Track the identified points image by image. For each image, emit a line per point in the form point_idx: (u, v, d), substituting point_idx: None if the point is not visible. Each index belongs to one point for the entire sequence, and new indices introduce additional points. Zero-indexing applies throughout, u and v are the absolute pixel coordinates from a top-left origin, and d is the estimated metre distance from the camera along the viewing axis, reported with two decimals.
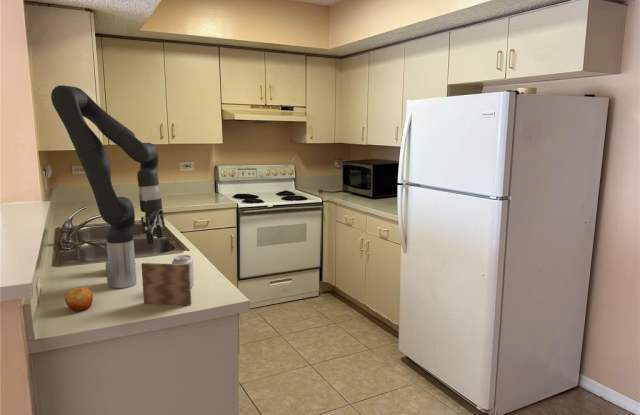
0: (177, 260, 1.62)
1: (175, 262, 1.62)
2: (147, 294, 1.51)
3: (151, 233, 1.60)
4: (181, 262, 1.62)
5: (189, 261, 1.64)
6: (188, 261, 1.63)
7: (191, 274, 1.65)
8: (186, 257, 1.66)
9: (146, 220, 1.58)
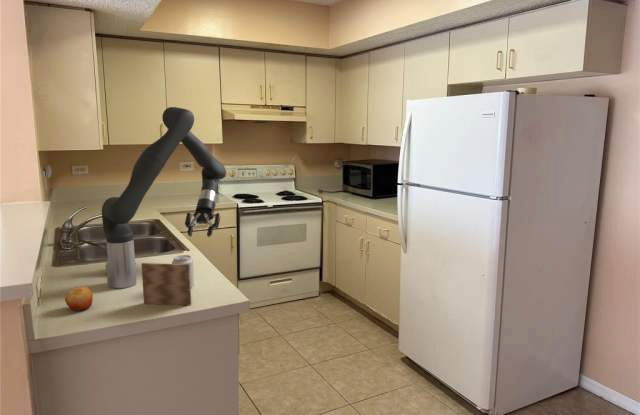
0: (177, 260, 1.62)
1: (175, 262, 1.62)
2: (147, 294, 1.51)
3: None
4: (181, 262, 1.62)
5: (189, 261, 1.64)
6: (188, 261, 1.63)
7: (191, 274, 1.65)
8: (186, 257, 1.66)
9: (219, 218, 1.88)
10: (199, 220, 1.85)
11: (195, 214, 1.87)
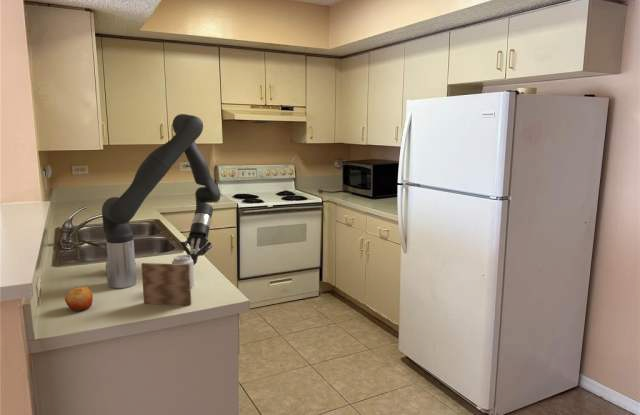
0: (177, 260, 1.62)
1: (175, 262, 1.62)
2: (147, 294, 1.51)
3: None
4: (181, 262, 1.62)
5: (189, 261, 1.64)
6: (188, 261, 1.63)
7: (191, 274, 1.65)
8: (186, 257, 1.66)
9: (210, 247, 1.80)
10: None
11: (189, 239, 1.81)
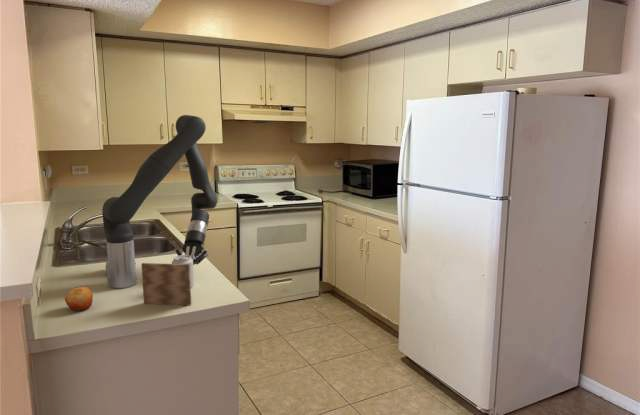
0: (177, 260, 1.62)
1: (175, 262, 1.62)
2: (147, 294, 1.51)
3: None
4: (181, 262, 1.62)
5: (189, 261, 1.63)
6: (188, 261, 1.63)
7: (191, 274, 1.65)
8: (186, 257, 1.66)
9: (206, 256, 1.75)
10: None
11: (184, 247, 1.76)
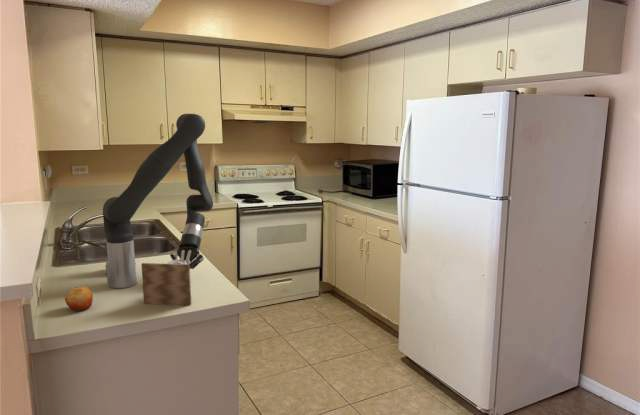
0: None
1: None
2: (147, 294, 1.51)
3: None
4: None
5: None
6: None
7: None
8: (181, 262, 1.61)
9: (201, 260, 1.69)
10: None
11: (179, 251, 1.70)
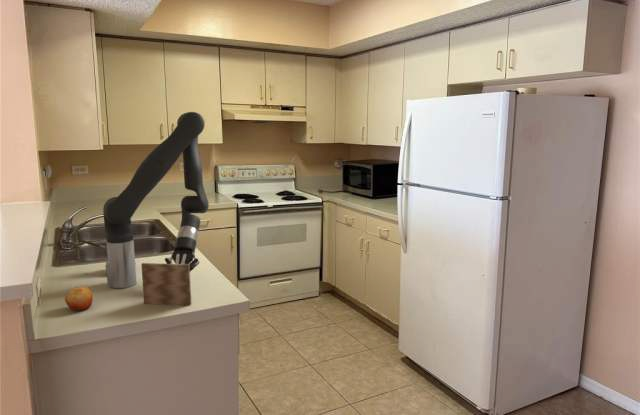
0: None
1: None
2: (147, 294, 1.51)
3: None
4: None
5: None
6: None
7: None
8: None
9: (197, 264, 1.64)
10: None
11: (174, 255, 1.65)
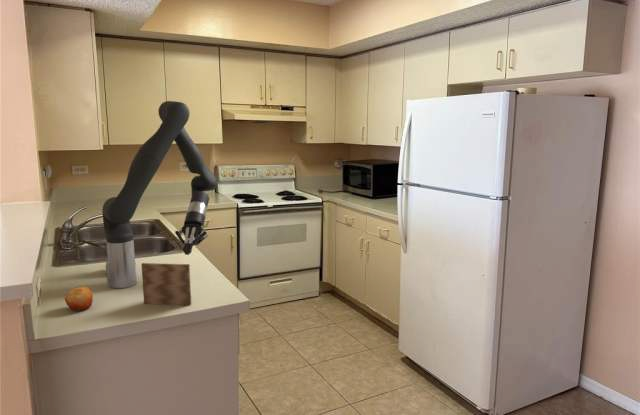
0: None
1: None
2: (147, 294, 1.51)
3: (191, 246, 1.72)
4: None
5: None
6: None
7: None
8: None
9: (205, 237, 1.74)
10: None
11: (184, 228, 1.75)
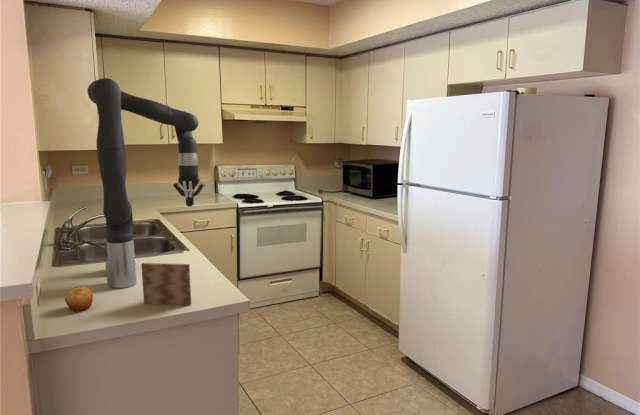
0: None
1: None
2: (147, 294, 1.51)
3: None
4: None
5: None
6: None
7: None
8: None
9: None
10: None
11: (180, 181, 1.81)
